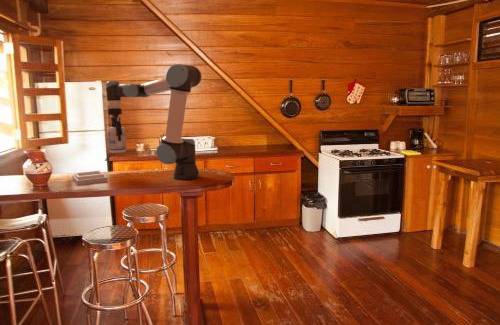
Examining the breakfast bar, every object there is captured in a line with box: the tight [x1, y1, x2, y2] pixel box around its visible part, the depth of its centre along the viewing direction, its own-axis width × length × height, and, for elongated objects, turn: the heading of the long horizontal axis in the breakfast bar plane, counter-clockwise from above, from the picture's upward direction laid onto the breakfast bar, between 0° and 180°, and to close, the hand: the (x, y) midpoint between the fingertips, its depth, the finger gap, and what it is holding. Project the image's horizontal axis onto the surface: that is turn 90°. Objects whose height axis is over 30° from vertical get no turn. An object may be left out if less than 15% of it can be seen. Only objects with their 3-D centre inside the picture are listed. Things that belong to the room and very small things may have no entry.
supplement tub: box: [107, 126, 127, 154], centre depth 232 cm, size 10×10×15 cm
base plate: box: [71, 170, 108, 186], centre depth 227 cm, size 20×16×4 cm
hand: (117, 145), depth 233 cm, fingers closed on supplement tub, 9 cm apart
